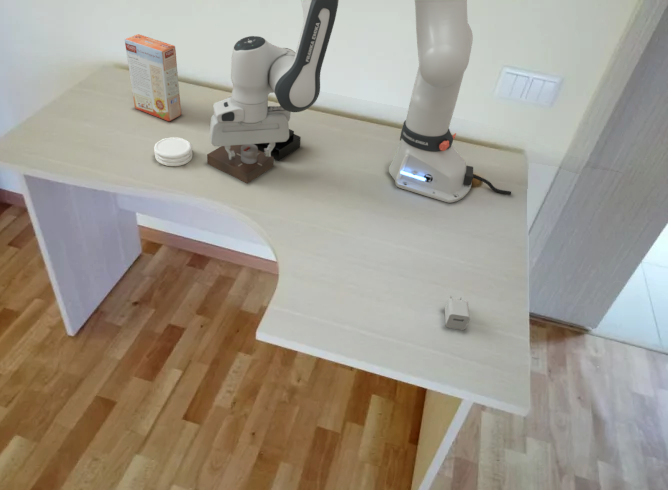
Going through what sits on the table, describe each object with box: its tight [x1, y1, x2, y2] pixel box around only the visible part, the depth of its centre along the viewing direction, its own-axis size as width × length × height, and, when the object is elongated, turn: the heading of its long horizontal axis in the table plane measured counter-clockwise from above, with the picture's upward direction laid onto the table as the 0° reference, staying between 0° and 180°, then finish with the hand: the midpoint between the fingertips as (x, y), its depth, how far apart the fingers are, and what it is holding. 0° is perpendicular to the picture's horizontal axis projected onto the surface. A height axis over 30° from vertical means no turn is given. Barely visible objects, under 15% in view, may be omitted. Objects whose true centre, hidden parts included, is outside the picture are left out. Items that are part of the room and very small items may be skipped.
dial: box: [241, 144, 258, 164], centre depth 140 cm, size 4×4×4 cm
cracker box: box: [124, 33, 182, 122], centre depth 156 cm, size 14×6×21 cm, turn 58°
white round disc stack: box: [153, 136, 194, 167], centre depth 144 cm, size 10×10×4 cm
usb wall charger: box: [444, 295, 471, 331], centre depth 108 cm, size 4×7×4 cm, turn 171°
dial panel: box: [206, 145, 275, 184], centre depth 144 cm, size 14×11×3 cm
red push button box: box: [254, 128, 302, 162], centre depth 151 cm, size 15×10×6 cm, turn 54°
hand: (249, 157), depth 141 cm, fingers open, 8 cm apart
